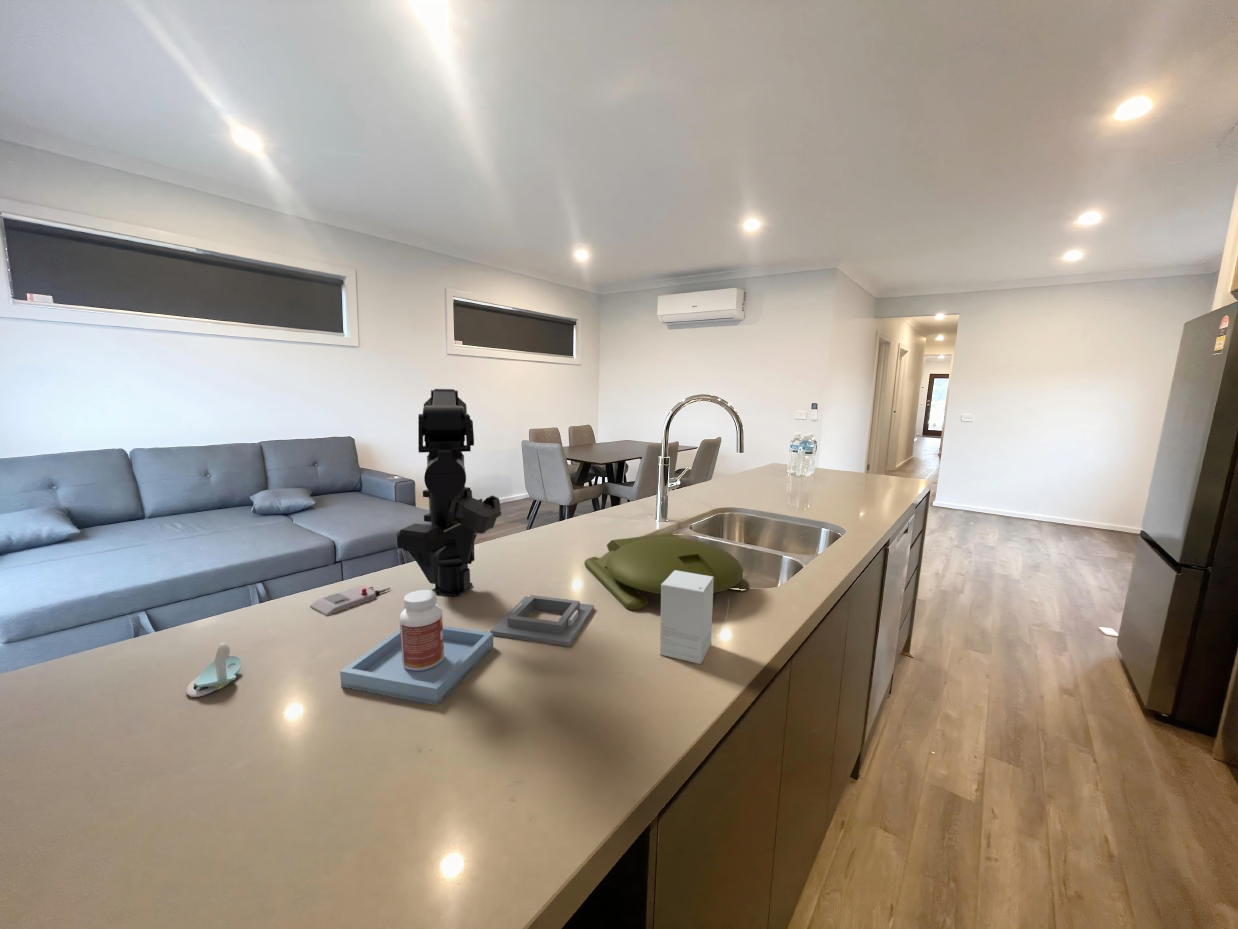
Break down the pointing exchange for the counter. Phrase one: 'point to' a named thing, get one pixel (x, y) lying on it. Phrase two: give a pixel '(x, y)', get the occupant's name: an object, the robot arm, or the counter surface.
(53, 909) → the counter surface
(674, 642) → the supplement box
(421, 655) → the pill bottle
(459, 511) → the robot arm
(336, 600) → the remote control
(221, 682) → the pacifier
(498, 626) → the grey square frame
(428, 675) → the tray
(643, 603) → the spaceship
